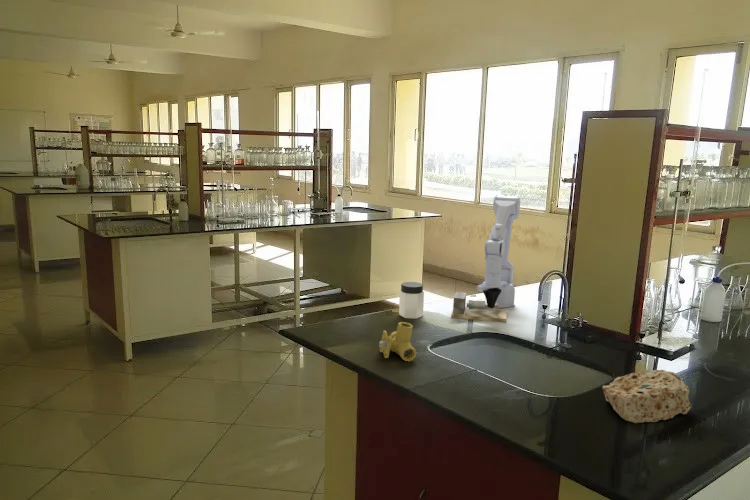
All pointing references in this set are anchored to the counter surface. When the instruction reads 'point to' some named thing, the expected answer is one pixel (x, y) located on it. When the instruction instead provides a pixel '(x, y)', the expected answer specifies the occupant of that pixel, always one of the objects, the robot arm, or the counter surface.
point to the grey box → (476, 302)
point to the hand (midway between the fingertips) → (490, 307)
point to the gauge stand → (476, 310)
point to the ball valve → (398, 342)
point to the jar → (411, 300)
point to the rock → (648, 396)
